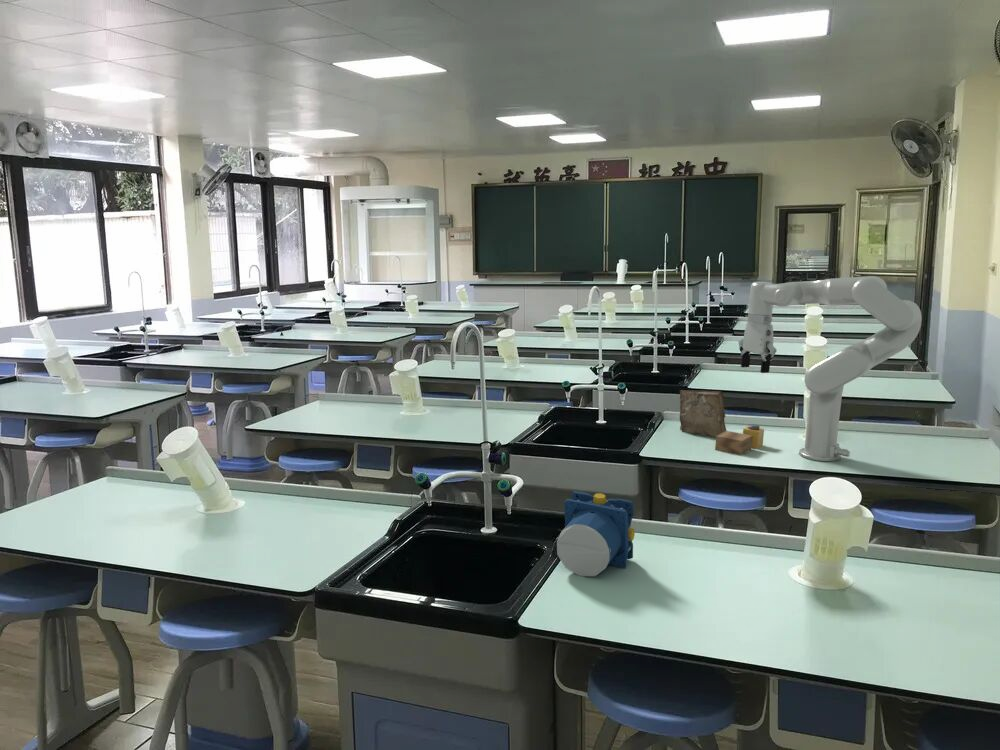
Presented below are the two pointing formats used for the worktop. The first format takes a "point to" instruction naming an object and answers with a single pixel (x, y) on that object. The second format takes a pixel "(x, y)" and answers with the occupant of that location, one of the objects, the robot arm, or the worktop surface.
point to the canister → (755, 435)
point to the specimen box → (733, 442)
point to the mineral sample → (702, 412)
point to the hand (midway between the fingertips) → (754, 369)
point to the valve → (595, 533)
